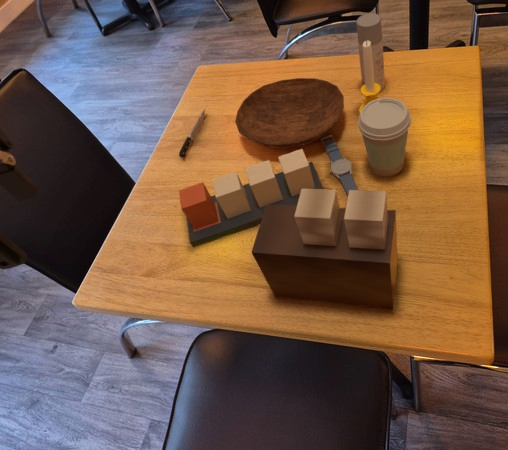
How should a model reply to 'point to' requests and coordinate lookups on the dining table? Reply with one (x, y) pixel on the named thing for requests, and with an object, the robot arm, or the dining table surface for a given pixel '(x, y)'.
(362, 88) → the candle
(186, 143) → the knife
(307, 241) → the stand
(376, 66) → the container
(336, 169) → the wristwatch
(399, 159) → the coffee cup
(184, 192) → the red-brown rectangular block
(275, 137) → the bowl
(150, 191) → the dining table surface
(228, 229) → the far board
